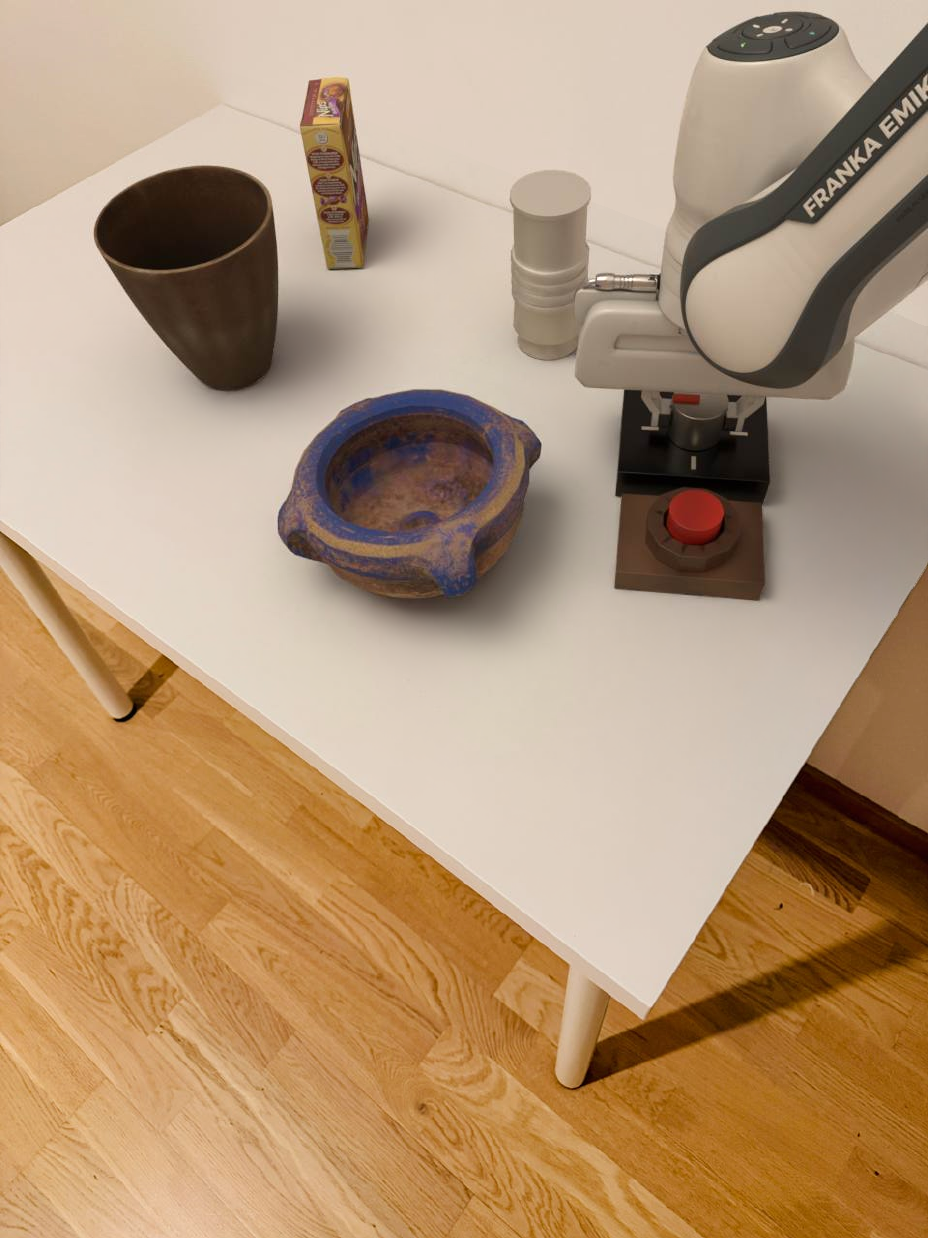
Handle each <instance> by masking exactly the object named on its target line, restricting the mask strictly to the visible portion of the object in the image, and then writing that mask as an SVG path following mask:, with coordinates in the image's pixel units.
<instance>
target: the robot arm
mask: <svg viewBox="0 0 928 1238" xmlns="http://www.w3.org/2000/svg"><path fill="white" fill-rule="evenodd" d="M696 61H697V62H696V64H695V66H694V68H693V71H692V74H691V77H690V80H689V84H688V88H687V91H686V94H685V100H684V103H683V108H682V114H681V118H680V123H679V128H678V135H677V141H676V148H675V155H674V163H673V172H672V184H673V186H672V187H673V190H674V196H675V203H674V208H673V212H672V214H671V216H670V218H669V220H668V222H667V226H666V229H665V235H664V243H663V250H662V257H661V258H662V260H661V266H660V273H658V274H655V273H654V274H650V273H648V274H647V273H634V274H616V273H614V272H601V273H596V275H595V278H589V279H588V280H587V281H585V282H583V283H582V284H580V285H579V286H578V288H577V289H576V291H575V293H574V304H573V313H574V317H575V319H576V321H577V322H578V324H579V325H581V328H580V333H579V334H578V335H579V340H578V346H577V347H576V355H575V365H574V377H575V379H576V380H577V381H578V382H579V384H580V385H581V386H582V387H584V388H587V389H605V390H622V391H624V390H642V392H641V398H642V400H643V401H644V403H645V404H646V406H647V407H648V409H649V410H650V412H651V413H652V416H651V427H663V428H669V423H670V417H671V402H672V399H664V398H661V396H660V394H659V393H660V391H661V392H681V393H700V394H720V395H740V396H742V397H741V398H740V399H739V400H738V401H737V402H728V408H727V412H726V416H725V421H724V425H723V431H733V432H741V431H742V428H743V424H744V420H745V418H747V417H749V416H750V415H751V414H752V413H753V412H755V411H756V410H757V409H758V408H760V407H761V406H762V405H763V404H764V400H765V397H767V398H781V399H798V400H799V399H801V400H802V399H803V400H817V401H818V400H820V401H829V400H832V399H833V398H835V397H837V396H838V395H840V394H841V393H842V392H844V390H845V389H846V386H847V384H848V381H849V378H850V374H851V370H852V366H853V362H854V356H855V355H854V354H855V338H856V337H859V335H861V334H862V333H863V332H864V331H865V330H867V329H869V327H871V326H872V325H873V324H874V323H876V322H877V321H878V320H879V319H881V318H882V317H883V316H885V314H887V313H888V312H889V311H891V310H893V309H894V308H895V307H896V306H897V305H898V304H900V303H901V302H902V301H904V300H905V299H906V298H907V297H908V296H909V295H911V294H912V293H913V292H914V291H916V290H917V289H918V288H920V287H921V286H922V285H923V284H925V283H926V282H928V22H927V23H926V24H925V25H924V26H923V27H922V28H921V30H920V31H919V32H918V33H916V35H915V36H914V37H913V38H912V39H911V41H910V42H909V43H908V44H907V45H906V47H904V49H903V50H902V51H900V53H899V54H898V55H897V56H896V58H895V59H894V60H893V61H891V63H890V64H889V65H888V66H887V67H886V69H884V71H883V72H882V73H881V74H880V75H879V76H878V78H876V80H875V81H874V80H873V79H872V78H871V77H870V76H869V74H867V73H866V71H865V70H864V69H863V68H862V66H861V65H860V63H859V62H858V60H857V59H856V56H855V54H854V51H853V50H852V48H851V44H850V42H849V39H848V35H847V34H846V32H845V30H844V28H843V27H842V26H841V25H840V24H839V23H838V22H836V21H835V20H833V19H831V18H830V17H827V16H824V15H822V14H820V13H816V12H811V11H798V10H797V11H796V10H795V11H779V12H777V11H776V12H774V13H769V14H764V15H760V16H759V15H757V16H754V17H751V18H749V19H747V20H745V21H742V22H740V23H738V24H736V25H734V26H733V27H730V28H729V29H727V30H725V31H724V32H722V33H721V34H719V35H718V36H716V37H714V38H713V39H712V40H711V41H710V42H709V43H708V44H707V45H706V46H705V47H704V48H703V50H702V52H701V53H700V55H699V57H698V59H697V60H696Z"/></svg>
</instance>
